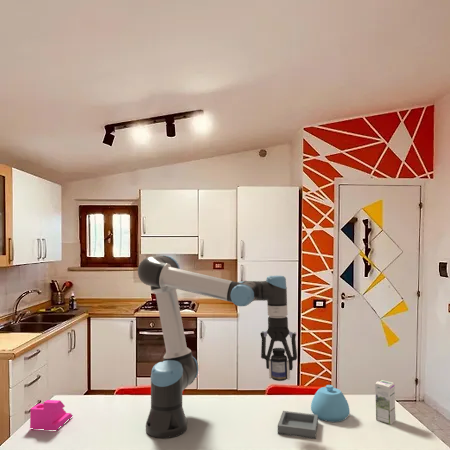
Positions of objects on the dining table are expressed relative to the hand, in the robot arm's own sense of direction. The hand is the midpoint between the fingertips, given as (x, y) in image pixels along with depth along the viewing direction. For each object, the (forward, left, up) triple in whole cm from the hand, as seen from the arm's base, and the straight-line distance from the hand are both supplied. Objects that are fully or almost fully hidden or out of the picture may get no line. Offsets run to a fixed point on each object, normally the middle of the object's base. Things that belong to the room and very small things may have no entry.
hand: (279, 377), depth 150 cm
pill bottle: (0, 0, -1) cm, 1 cm away
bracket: (-84, -22, -18) cm, 89 cm away
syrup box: (+39, +17, -18) cm, 46 cm away
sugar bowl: (+18, +16, -18) cm, 30 cm away
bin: (+7, +1, -18) cm, 19 cm away
